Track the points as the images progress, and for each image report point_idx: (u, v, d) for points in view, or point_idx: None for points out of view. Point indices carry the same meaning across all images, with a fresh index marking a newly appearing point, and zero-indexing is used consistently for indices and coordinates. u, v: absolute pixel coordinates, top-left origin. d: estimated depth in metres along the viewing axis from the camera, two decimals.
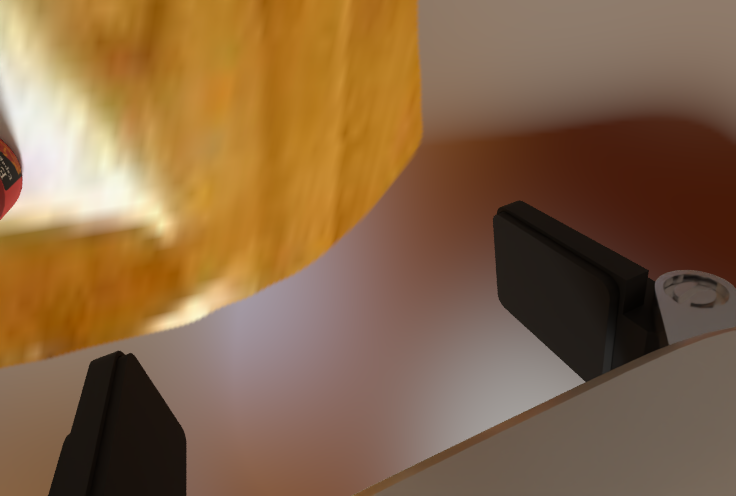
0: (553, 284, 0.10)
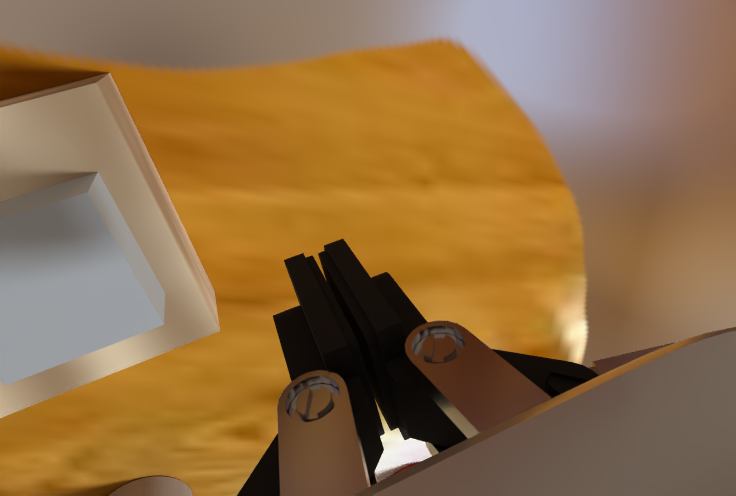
0: (351, 326, 0.10)
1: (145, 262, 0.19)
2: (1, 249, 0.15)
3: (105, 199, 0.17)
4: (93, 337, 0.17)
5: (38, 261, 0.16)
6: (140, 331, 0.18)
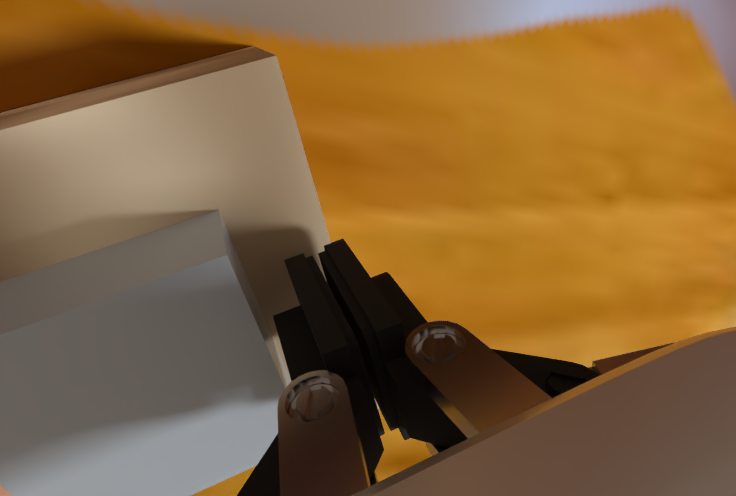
0: (351, 326, 0.10)
1: (273, 340, 0.13)
2: (80, 354, 0.09)
3: (234, 255, 0.10)
4: (208, 469, 0.11)
5: (138, 367, 0.09)
6: None
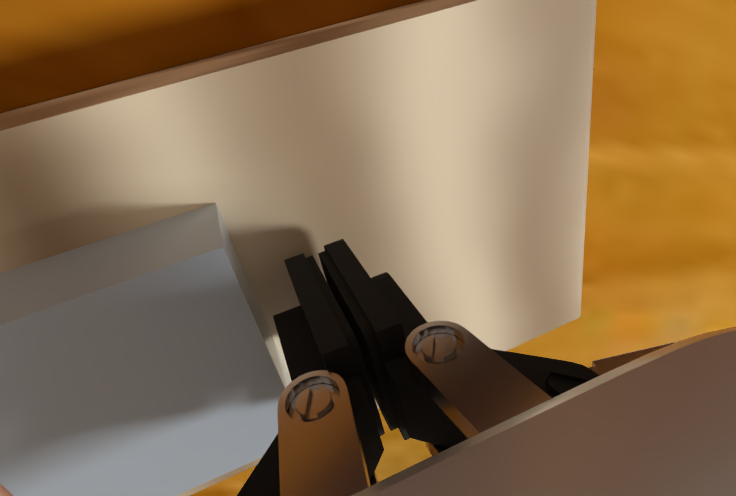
0: (351, 326, 0.10)
1: (271, 335, 0.13)
2: (75, 346, 0.09)
3: (231, 248, 0.10)
4: (205, 464, 0.11)
5: (134, 361, 0.09)
6: None
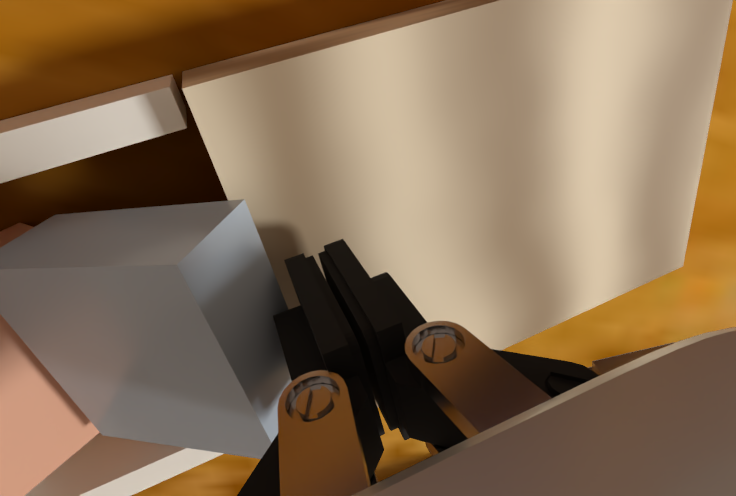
0: (351, 326, 0.10)
1: None
2: (76, 304, 0.10)
3: (236, 255, 0.10)
4: (191, 436, 0.12)
5: (120, 333, 0.10)
6: (252, 452, 0.11)
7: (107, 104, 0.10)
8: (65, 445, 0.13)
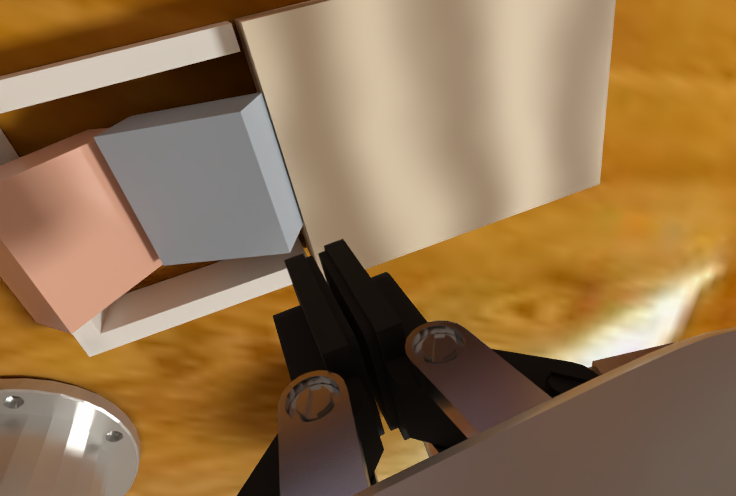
0: (351, 326, 0.10)
1: (289, 188, 0.19)
2: (169, 151, 0.17)
3: (261, 120, 0.17)
4: (231, 246, 0.19)
5: (196, 168, 0.17)
6: (270, 253, 0.19)
7: (193, 32, 0.17)
8: (133, 275, 0.19)
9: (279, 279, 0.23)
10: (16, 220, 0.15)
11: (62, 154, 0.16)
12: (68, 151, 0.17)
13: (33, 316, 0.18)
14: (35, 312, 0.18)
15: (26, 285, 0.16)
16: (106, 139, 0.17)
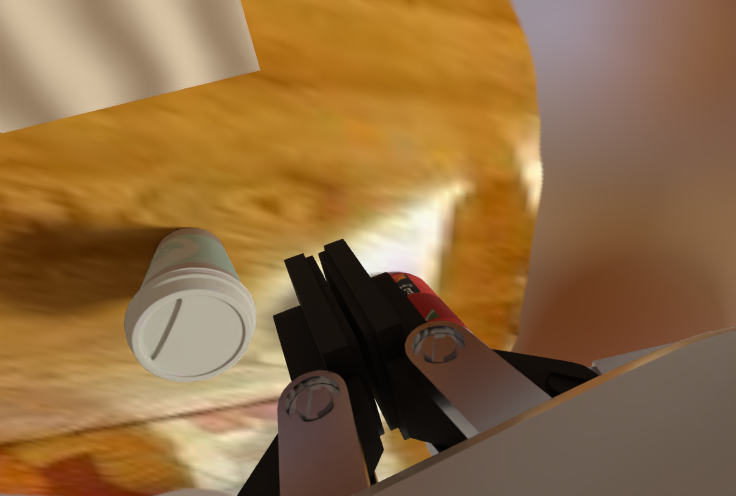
0: (351, 326, 0.10)
1: None
2: None
3: None
4: None
5: None
6: None
7: None
8: None
9: None
10: None
11: None
12: None
13: None
14: None
15: None
16: None
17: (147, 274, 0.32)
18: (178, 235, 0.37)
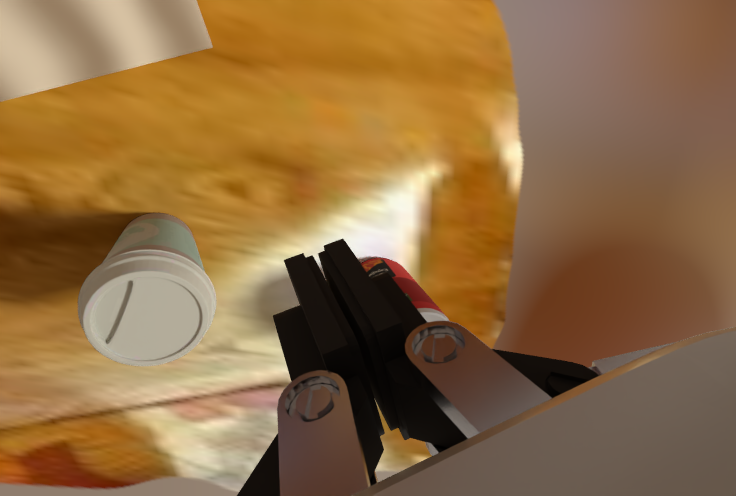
0: (351, 326, 0.10)
1: None
2: None
3: None
4: None
5: None
6: None
7: None
8: None
9: None
10: None
11: None
12: None
13: None
14: None
15: None
16: None
17: None
18: (141, 220, 0.36)
